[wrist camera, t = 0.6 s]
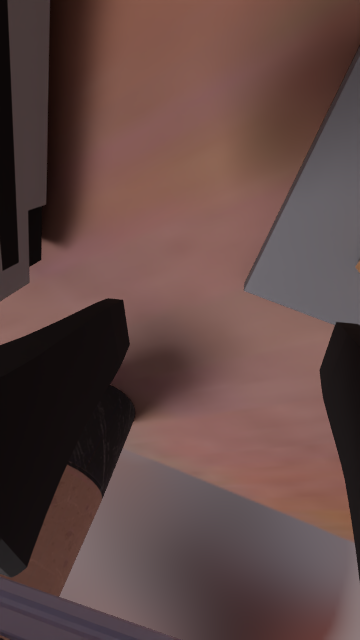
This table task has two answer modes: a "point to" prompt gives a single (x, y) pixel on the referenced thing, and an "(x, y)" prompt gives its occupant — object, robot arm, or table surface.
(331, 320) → the fader panel
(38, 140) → the game console
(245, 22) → the table surface
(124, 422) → the travel mug
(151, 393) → the table surface
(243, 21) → the table surface
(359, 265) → the fader knob
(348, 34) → the table surface
